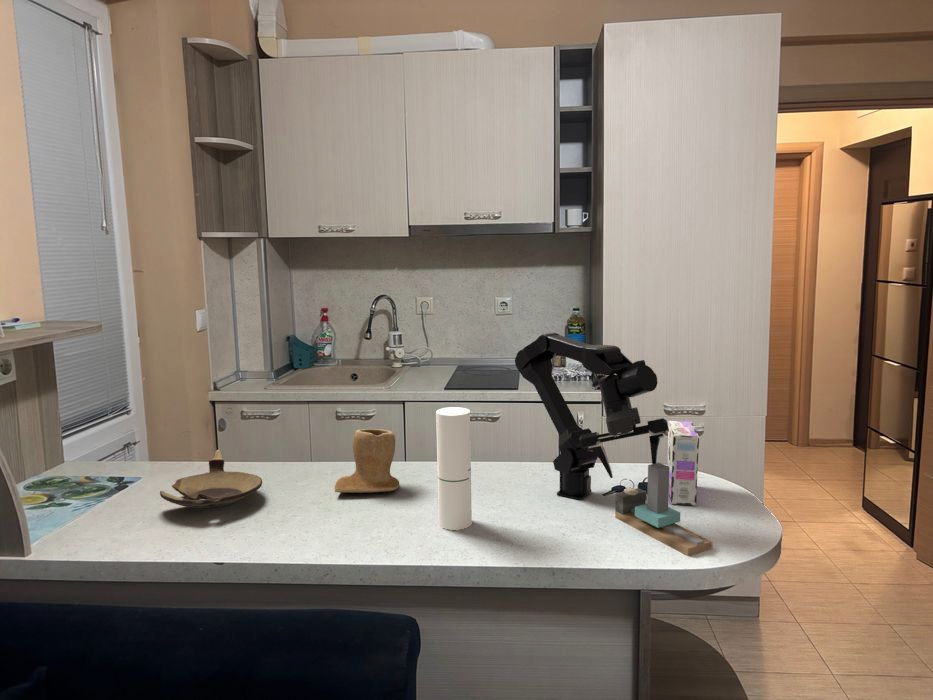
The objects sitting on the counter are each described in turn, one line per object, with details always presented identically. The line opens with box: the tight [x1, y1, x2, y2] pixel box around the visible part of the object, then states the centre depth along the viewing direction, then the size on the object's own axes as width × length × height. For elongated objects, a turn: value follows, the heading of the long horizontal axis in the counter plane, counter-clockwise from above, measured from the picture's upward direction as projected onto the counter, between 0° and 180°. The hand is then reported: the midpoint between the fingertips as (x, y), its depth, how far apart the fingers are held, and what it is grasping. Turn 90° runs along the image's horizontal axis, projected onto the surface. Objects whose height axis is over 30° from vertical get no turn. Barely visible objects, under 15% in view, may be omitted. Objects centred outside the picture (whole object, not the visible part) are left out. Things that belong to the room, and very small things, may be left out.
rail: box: [614, 487, 713, 557], centre depth 147 cm, size 22×6×6 cm, turn 28°
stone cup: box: [334, 428, 400, 494], centre depth 174 cm, size 15×12×15 cm
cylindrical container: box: [435, 406, 473, 531], centre depth 152 cm, size 7×7×25 cm
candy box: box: [666, 420, 700, 507], centre depth 167 cm, size 14×6×16 cm, turn 168°
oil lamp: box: [159, 449, 263, 509], centre depth 170 cm, size 22×30×8 cm
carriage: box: [635, 462, 681, 528], centre depth 148 cm, size 7×6×12 cm
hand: (633, 473), depth 151 cm, fingers open, 9 cm apart
